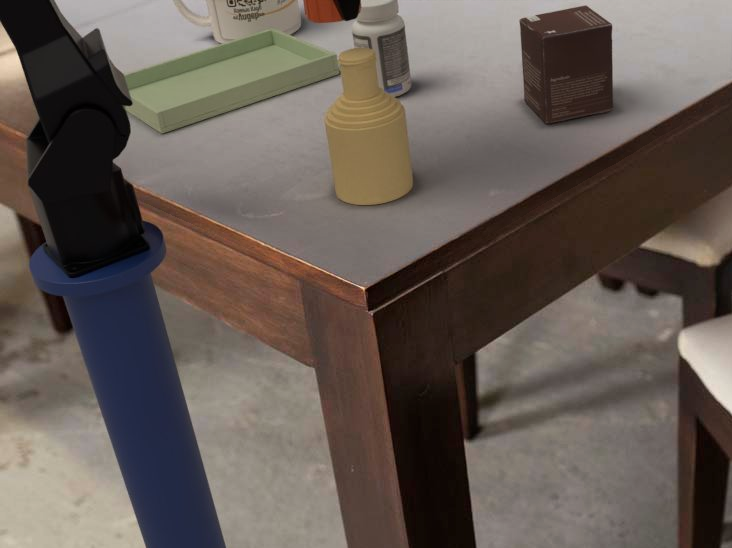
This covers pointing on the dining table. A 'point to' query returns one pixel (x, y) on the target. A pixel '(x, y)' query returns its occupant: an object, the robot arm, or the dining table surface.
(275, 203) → the dining table surface
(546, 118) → the box
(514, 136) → the dining table surface
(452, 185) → the dining table surface
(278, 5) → the mug
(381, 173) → the bottle
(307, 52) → the tray
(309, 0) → the cap
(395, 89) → the pill bottle
